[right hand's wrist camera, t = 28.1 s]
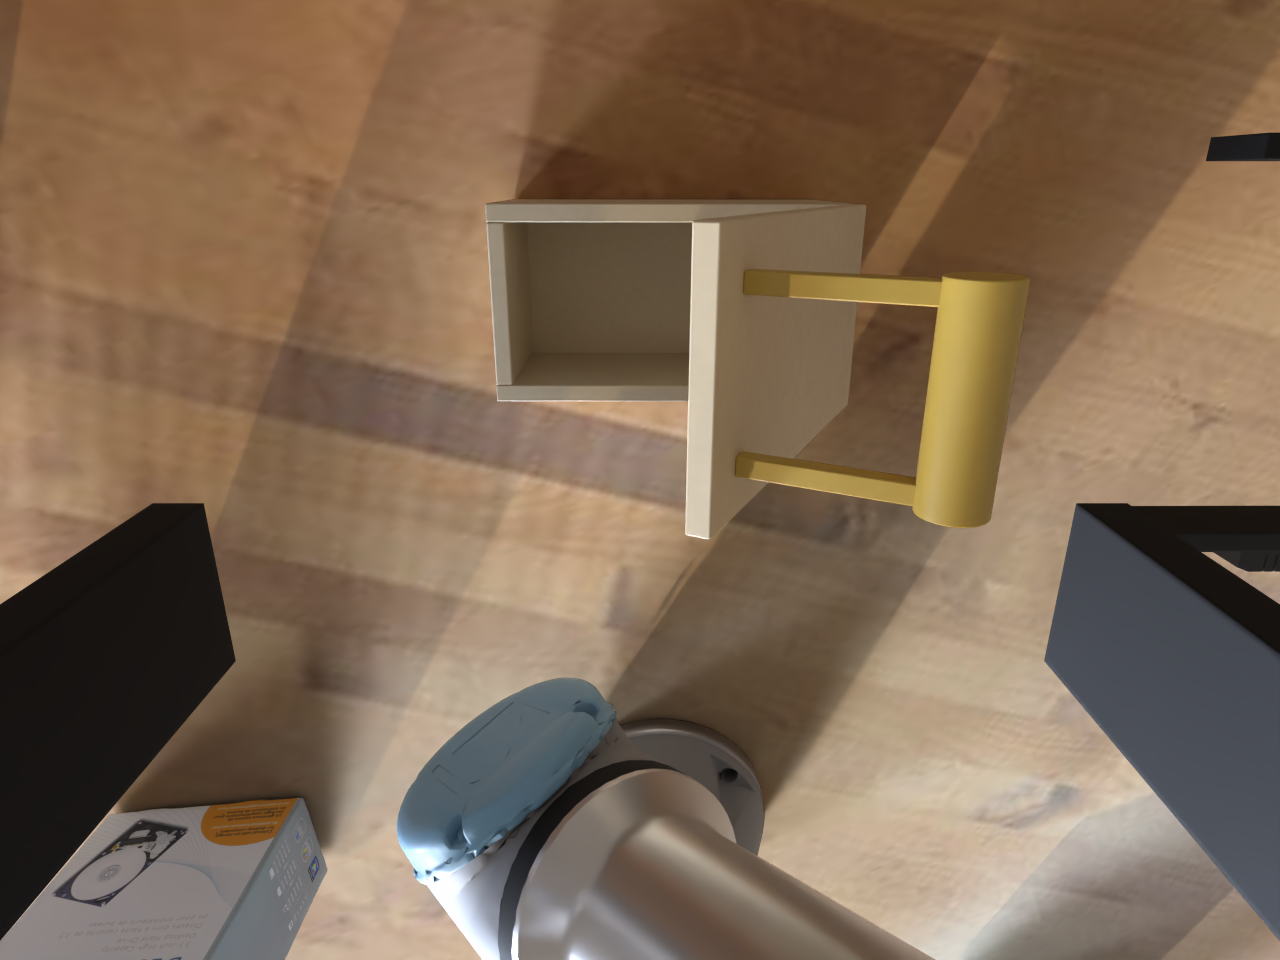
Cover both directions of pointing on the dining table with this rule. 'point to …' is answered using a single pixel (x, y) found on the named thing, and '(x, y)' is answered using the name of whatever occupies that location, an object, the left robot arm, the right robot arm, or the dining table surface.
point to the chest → (598, 294)
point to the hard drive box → (179, 887)
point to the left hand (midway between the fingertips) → (1186, 353)
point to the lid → (834, 367)
